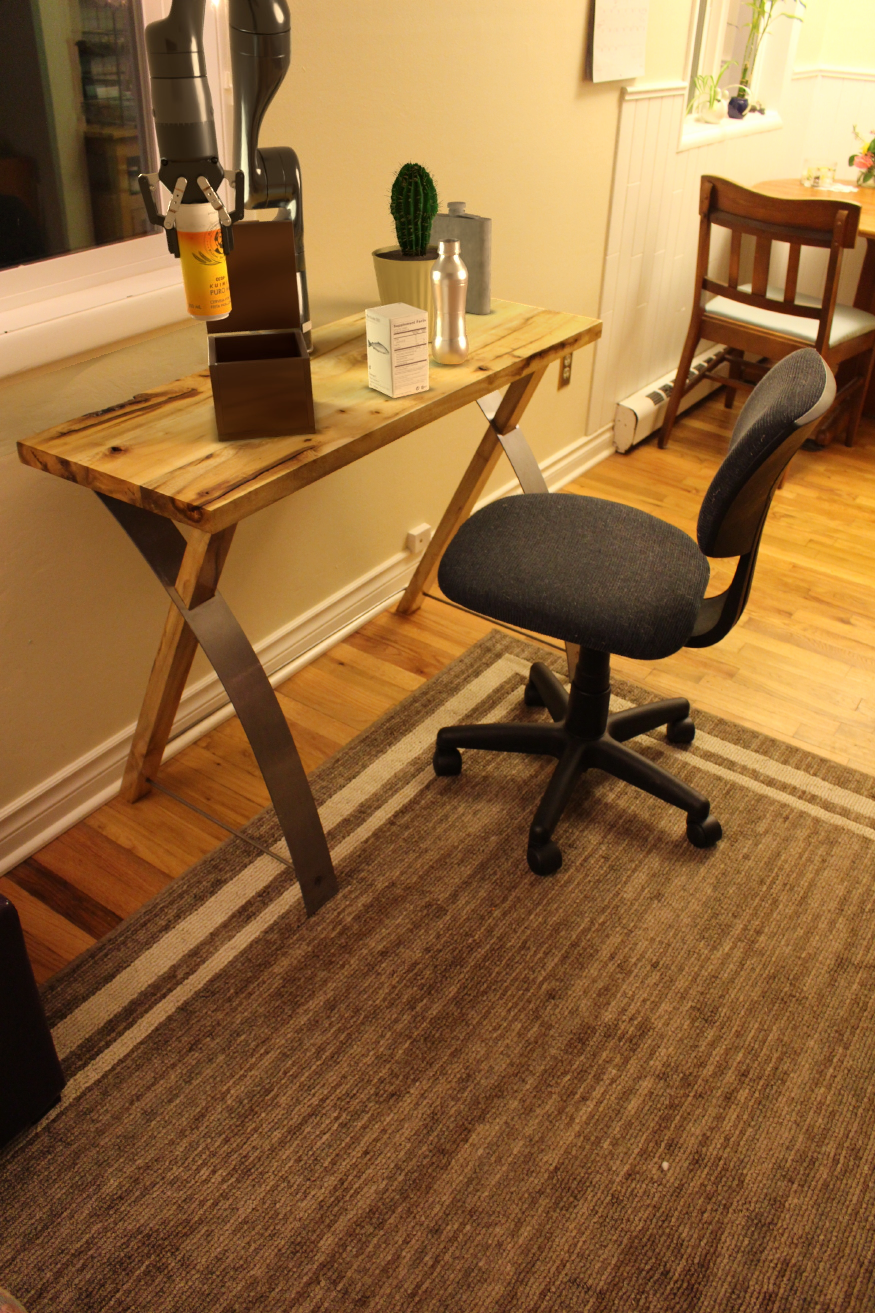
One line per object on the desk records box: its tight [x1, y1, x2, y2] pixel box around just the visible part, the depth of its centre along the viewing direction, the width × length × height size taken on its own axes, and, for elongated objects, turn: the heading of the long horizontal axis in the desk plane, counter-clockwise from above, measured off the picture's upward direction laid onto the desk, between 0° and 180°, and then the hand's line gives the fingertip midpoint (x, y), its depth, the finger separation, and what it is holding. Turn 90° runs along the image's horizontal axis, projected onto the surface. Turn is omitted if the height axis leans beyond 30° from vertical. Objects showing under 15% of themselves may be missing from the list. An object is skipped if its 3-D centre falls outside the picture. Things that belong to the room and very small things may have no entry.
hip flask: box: [429, 201, 493, 316], centre depth 203 cm, size 16×4×20 cm, turn 58°
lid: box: [205, 219, 301, 335], centre depth 151 cm, size 16×14×6 cm
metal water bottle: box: [430, 238, 470, 365], centre depth 172 cm, size 6×7×20 cm
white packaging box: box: [364, 303, 430, 399], centre depth 163 cm, size 7×7×13 cm
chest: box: [207, 330, 317, 442], centre depth 152 cm, size 15×14×11 cm
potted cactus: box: [371, 159, 444, 343], centre depth 184 cm, size 15×15×30 cm
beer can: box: [174, 200, 232, 322], centre depth 140 cm, size 6×6×15 cm
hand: (202, 255), depth 139 cm, fingers closed on beer can, 6 cm apart
